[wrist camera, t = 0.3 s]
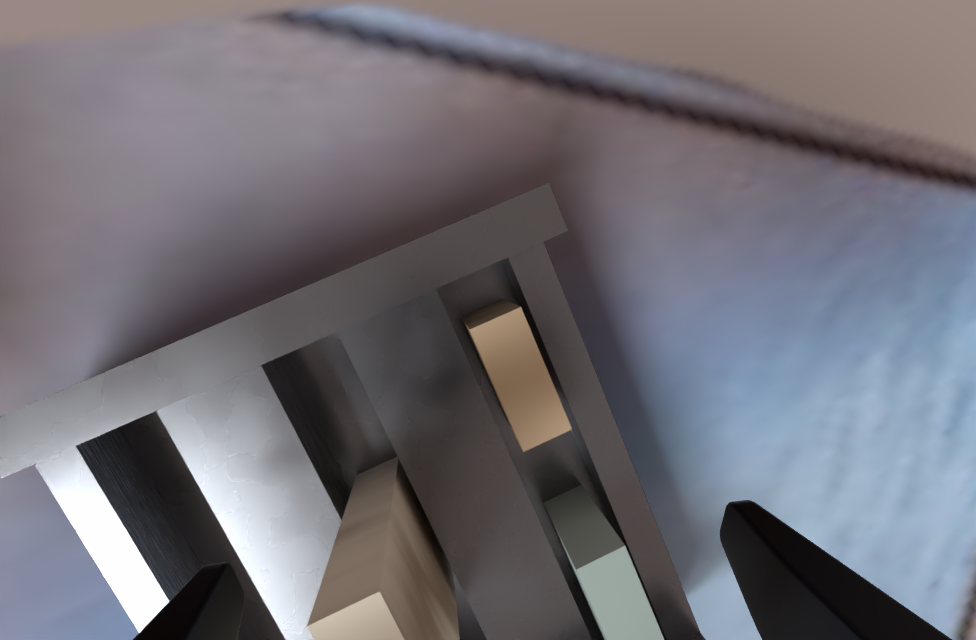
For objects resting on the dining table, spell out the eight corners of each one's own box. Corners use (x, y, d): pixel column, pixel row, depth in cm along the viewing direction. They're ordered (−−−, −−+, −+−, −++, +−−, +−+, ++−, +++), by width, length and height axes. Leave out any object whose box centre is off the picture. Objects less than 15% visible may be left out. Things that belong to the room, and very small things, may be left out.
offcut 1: (545, 399, 22) (572, 429, 18) (505, 418, 22) (523, 452, 18) (503, 298, 21) (521, 306, 17) (461, 317, 21) (469, 329, 17)
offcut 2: (626, 589, 24) (679, 675, 19) (589, 608, 23) (632, 699, 18) (581, 484, 23) (625, 545, 18) (543, 502, 22) (576, 569, 18)
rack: (672, 607, 25) (766, 736, 18) (312, 790, 24) (265, 1006, 17) (509, 208, 22) (549, 182, 15) (77, 393, 20) (-101, 459, 13)
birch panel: (453, 568, 22) (471, 769, 13) (413, 587, 22) (404, 803, 13) (398, 455, 21) (379, 591, 12) (356, 475, 21) (306, 626, 12)
